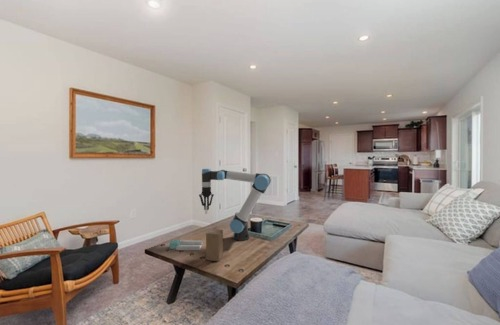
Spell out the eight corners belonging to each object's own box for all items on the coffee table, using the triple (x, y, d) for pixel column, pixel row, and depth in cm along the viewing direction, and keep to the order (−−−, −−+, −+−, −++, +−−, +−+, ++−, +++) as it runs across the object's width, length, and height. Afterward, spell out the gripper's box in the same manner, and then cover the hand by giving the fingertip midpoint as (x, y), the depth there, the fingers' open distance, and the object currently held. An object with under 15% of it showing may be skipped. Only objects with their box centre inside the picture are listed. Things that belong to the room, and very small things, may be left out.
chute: (202, 244, 191) (202, 240, 191) (199, 250, 179) (199, 246, 179) (181, 244, 191) (181, 240, 191) (176, 250, 179) (176, 246, 179)
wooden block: (219, 261, 161) (218, 234, 160) (205, 260, 163) (205, 233, 162) (223, 255, 171) (223, 229, 170) (210, 254, 173) (210, 228, 172)
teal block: (180, 245, 188) (180, 239, 188) (177, 248, 182) (177, 242, 181) (172, 245, 188) (172, 239, 188) (169, 248, 182) (169, 242, 181)
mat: (180, 244, 190) (180, 244, 190) (176, 250, 179) (176, 250, 179) (171, 244, 190) (171, 244, 190) (166, 250, 179) (166, 250, 179)
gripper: (214, 185, 200) (214, 212, 201) (199, 185, 200) (200, 212, 201) (213, 187, 193) (213, 214, 194) (197, 187, 193) (198, 214, 194)
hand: (206, 213), depth 198 cm, fingers closed
